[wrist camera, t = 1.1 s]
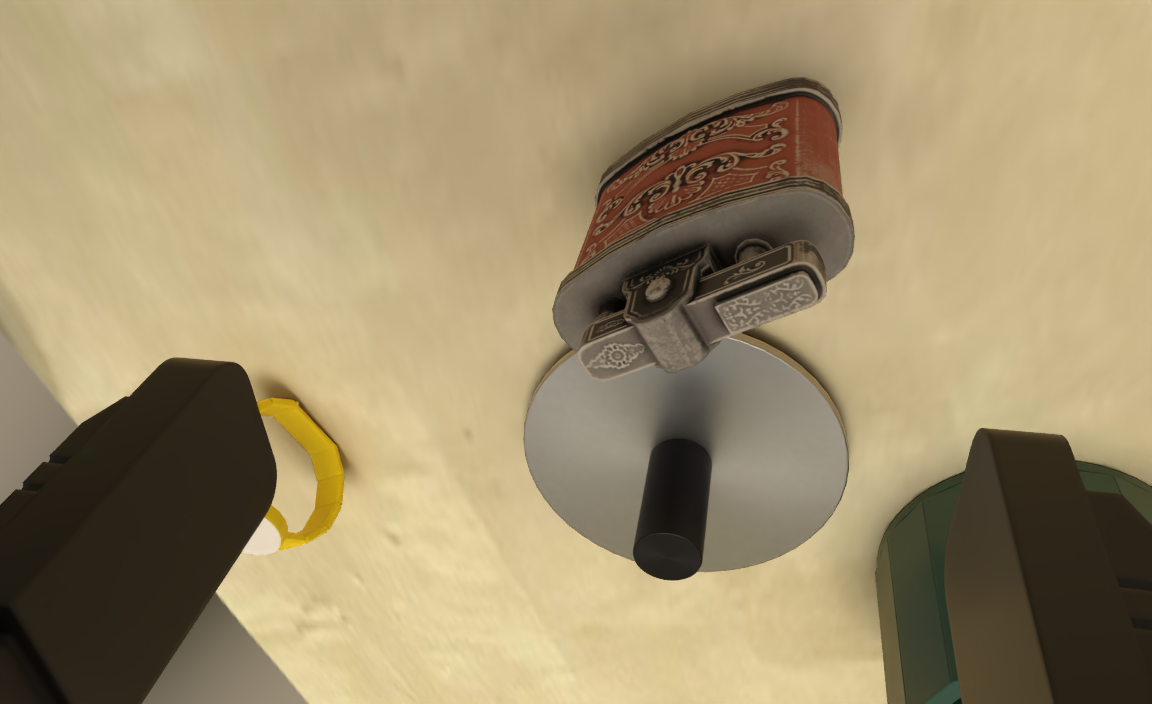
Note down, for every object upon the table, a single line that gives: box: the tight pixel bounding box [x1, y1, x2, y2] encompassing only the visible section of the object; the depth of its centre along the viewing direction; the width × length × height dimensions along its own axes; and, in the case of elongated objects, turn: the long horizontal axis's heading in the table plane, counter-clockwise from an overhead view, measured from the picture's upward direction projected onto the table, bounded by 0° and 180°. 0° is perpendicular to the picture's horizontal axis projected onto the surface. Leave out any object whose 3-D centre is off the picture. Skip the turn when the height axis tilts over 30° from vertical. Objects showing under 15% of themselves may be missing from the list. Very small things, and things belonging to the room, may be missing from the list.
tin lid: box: [524, 333, 849, 580], centre depth 34 cm, size 12×12×6 cm
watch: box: [242, 398, 344, 556], centre depth 37 cm, size 6×3×6 cm, turn 30°
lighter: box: [552, 78, 855, 382], centre depth 25 cm, size 8×3×10 cm, turn 122°
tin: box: [875, 461, 1152, 704], centre depth 33 cm, size 11×11×8 cm
